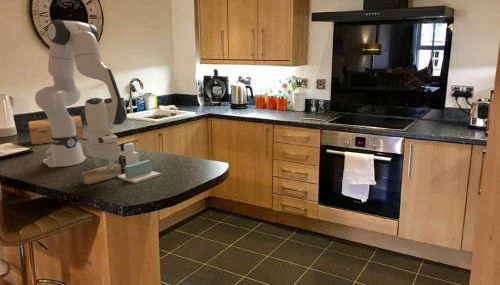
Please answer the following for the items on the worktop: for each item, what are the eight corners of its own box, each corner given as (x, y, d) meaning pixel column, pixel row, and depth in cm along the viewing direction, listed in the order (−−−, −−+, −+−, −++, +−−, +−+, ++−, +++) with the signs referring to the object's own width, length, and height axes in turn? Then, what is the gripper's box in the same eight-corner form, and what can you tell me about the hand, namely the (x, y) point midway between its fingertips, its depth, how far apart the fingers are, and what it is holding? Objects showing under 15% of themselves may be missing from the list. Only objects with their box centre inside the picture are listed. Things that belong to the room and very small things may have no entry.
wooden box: (81, 134, 280) (78, 114, 277) (84, 139, 266) (81, 117, 263) (31, 140, 267) (28, 119, 264) (31, 146, 253) (27, 123, 250)
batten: (83, 183, 179) (82, 172, 178) (116, 173, 191) (115, 163, 190) (88, 185, 177) (86, 174, 176) (121, 175, 188) (120, 164, 187)
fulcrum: (117, 177, 184) (116, 164, 183) (142, 170, 194) (141, 157, 192) (135, 183, 176) (133, 169, 174) (160, 175, 185) (159, 162, 184)
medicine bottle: (119, 167, 200) (116, 143, 197) (132, 164, 204) (130, 140, 202) (126, 170, 195) (123, 145, 192) (140, 167, 199) (137, 142, 197)
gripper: (80, 136, 184) (85, 166, 187) (106, 140, 171) (111, 172, 174) (93, 133, 189) (97, 162, 192) (119, 137, 176) (124, 168, 179)
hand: (104, 167), depth 183 cm, fingers open, 8 cm apart
